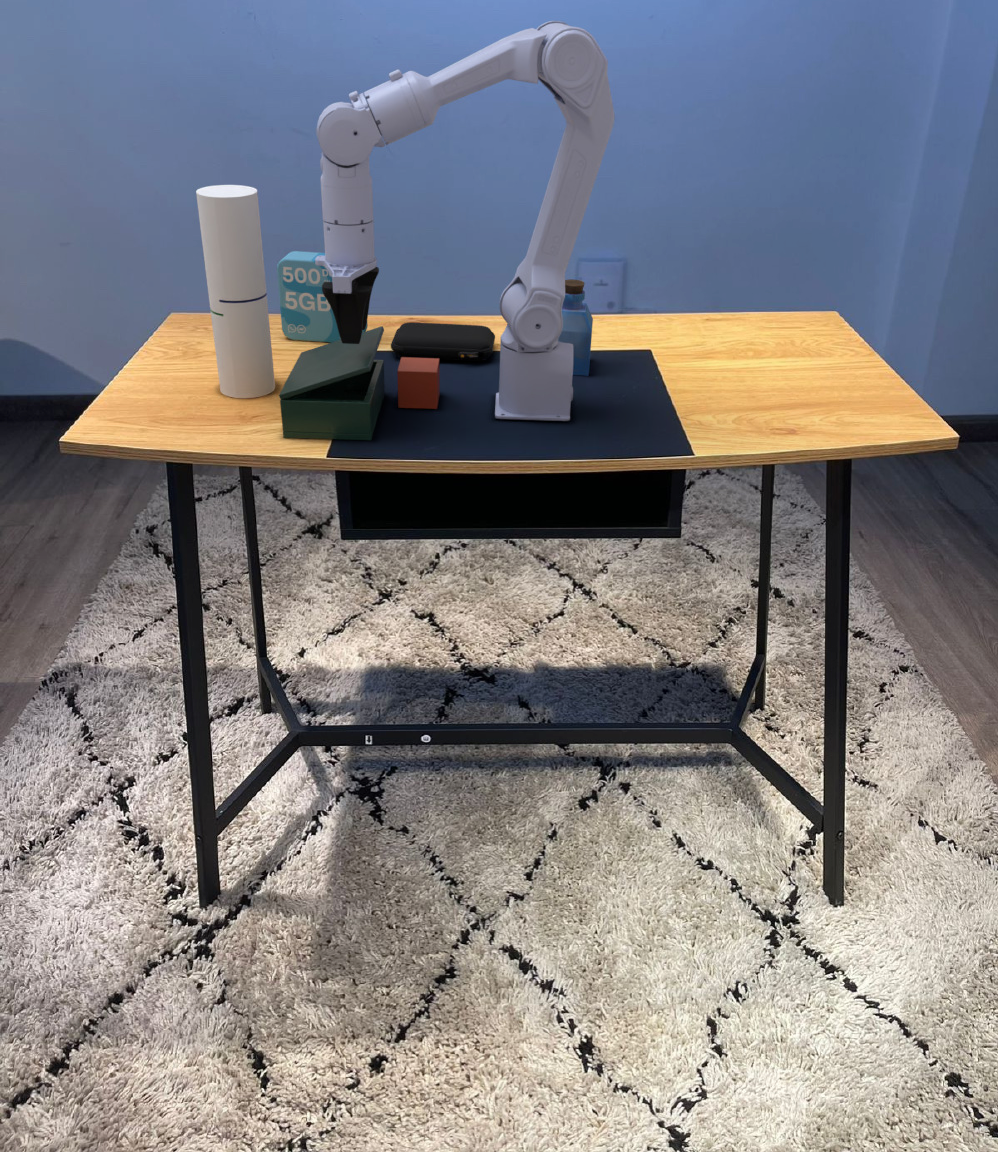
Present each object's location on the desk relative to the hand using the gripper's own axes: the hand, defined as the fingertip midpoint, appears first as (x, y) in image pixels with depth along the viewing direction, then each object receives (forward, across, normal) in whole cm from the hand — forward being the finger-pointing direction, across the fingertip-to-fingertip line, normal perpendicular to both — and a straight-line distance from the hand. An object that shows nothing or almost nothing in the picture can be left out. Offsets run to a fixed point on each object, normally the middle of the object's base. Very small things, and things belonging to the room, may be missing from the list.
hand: (353, 335), depth 123 cm
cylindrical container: (+11, -8, -16) cm, 21 cm away
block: (+10, -6, +7) cm, 14 cm away
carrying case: (+11, -24, +9) cm, 28 cm away
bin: (+10, 0, -3) cm, 11 cm away
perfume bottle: (+11, -20, +27) cm, 35 cm away
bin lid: (+4, 0, -3) cm, 4 cm away
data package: (+11, -29, -9) cm, 32 cm away
